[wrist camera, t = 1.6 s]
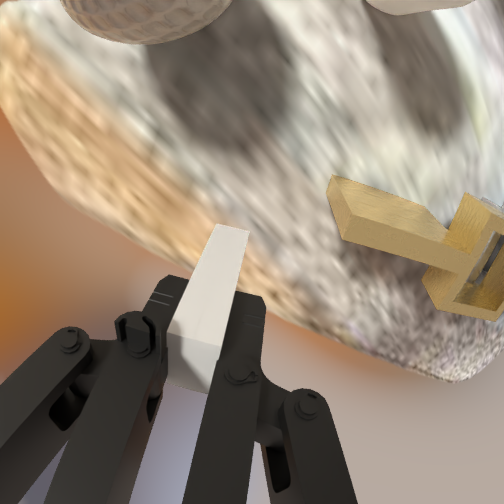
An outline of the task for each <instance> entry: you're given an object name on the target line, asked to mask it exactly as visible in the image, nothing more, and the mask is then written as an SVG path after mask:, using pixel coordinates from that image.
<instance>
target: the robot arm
mask: <svg viewBox="0 0 504 504" xmlns="http://www.w3.org/2000/svg"><path fill="white" fill-rule="evenodd" d="M249 232H250V231H246V230H242V229H238V228H234V227H230V226H225V225H221V224H216V226H215V228H214V230H213V232H212V234H211V236H210V238H209V240H208V242H207V244H206V247H205V249H204V251H203V253H202V255H201V257H200V259H199V261H198V263H197V266H196V268H195V270H194V272H193V274H192V277H191V279H190V280H188V279H184V278H180V277H176V276H173V275H168V276H166V277H165V278H163V279H162V280H160V281H159V283H158V284H157V286H156V288H155V289H154V292H153V293H152V295H151V297H150V298H149V300H148V302H147V304H146V305H145V307H144V309H143V311H142V312H140V311H132V312H127V313H125V314H123V315H120V316H119V317H118V318H117V319H116V320H115V328H116V334H117V339H116V340H94V339H89V335H88V334H87V333H86V332H85V331H84V330H82V329H80V328H78V327H65V328H62V329H60V330H59V331H57V332H55V333H54V334H53V335H52V336H51V337H50V338H49V339H48V340H47V341H46V342H44V343H43V344H42V345H41V346H40V347H39V348H38V349H37V350H36V351H35V352H34V353H33V354H32V355H31V356H30V357H28V358H27V359H26V360H25V361H24V362H23V363H22V364H21V365H20V366H19V367H18V368H17V369H16V370H15V371H14V372H13V373H12V374H11V375H10V376H9V377H8V378H7V379H6V380H5V381H4V382H3V383H2V384H1V385H0V504H18V503H19V501H20V500H21V499H22V498H23V496H24V495H25V494H26V492H27V491H28V490H29V488H30V487H31V486H32V485H33V483H34V482H35V481H36V479H37V478H38V477H39V476H40V474H41V473H42V472H43V471H44V469H45V468H46V467H47V465H48V464H49V463H50V462H51V461H52V459H53V458H54V457H55V456H56V454H57V453H58V452H59V451H60V449H61V448H62V447H63V446H64V445H65V443H66V442H67V441H68V443H67V445H66V447H65V450H64V452H63V455H62V457H61V459H60V462H59V464H58V467H57V469H56V472H55V474H54V477H53V480H52V482H51V485H50V487H49V490H48V493H47V496H46V498H45V501H44V504H129V501H130V498H131V494H132V491H133V488H134V484H135V481H136V478H137V474H138V471H139V468H140V464H141V461H142V458H143V455H144V452H145V449H146V445H147V443H148V439H149V436H150V433H151V430H152V427H153V424H154V421H155V418H156V415H157V412H158V409H159V406H160V403H161V400H162V397H163V386H164V383H165V381H166V378H167V383H169V384H172V385H175V386H179V387H182V388H186V389H190V390H193V391H197V392H201V393H205V394H208V397H207V401H206V405H205V409H204V414H203V418H202V422H201V426H200V430H199V434H198V438H197V442H196V447H195V451H194V455H193V459H192V463H191V468H190V472H189V476H188V480H187V485H186V489H185V493H184V497H183V501H182V504H246V501H247V494H248V487H249V479H250V472H251V464H252V456H253V449H254V441H256V442H258V443H260V445H261V451H262V457H263V463H264V469H265V475H266V480H267V486H268V492H269V497H270V503H271V504H358V503H357V500H356V496H355V493H354V489H353V485H352V482H351V478H350V475H349V472H348V468H347V465H346V461H345V458H344V455H343V451H342V448H341V444H340V441H339V438H338V435H337V431H336V428H335V425H334V421H333V419H332V415H331V412H330V409H329V406H328V404H327V402H326V400H325V398H324V397H322V396H321V395H320V394H319V393H318V392H315V391H313V390H311V389H303V388H302V389H297V390H294V391H292V392H289V391H287V390H285V389H283V388H281V387H279V386H277V385H275V384H274V383H272V382H270V380H268V379H267V378H266V376H265V375H264V373H263V372H262V369H261V362H260V361H261V352H262V343H263V333H264V324H265V314H266V306H265V303H264V301H263V299H262V297H261V296H256V295H252V294H248V293H244V292H239V291H235V290H236V286H237V282H238V278H239V274H240V269H241V265H242V261H243V257H244V253H245V249H246V244H247V240H248V236H249Z"/></svg>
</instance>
